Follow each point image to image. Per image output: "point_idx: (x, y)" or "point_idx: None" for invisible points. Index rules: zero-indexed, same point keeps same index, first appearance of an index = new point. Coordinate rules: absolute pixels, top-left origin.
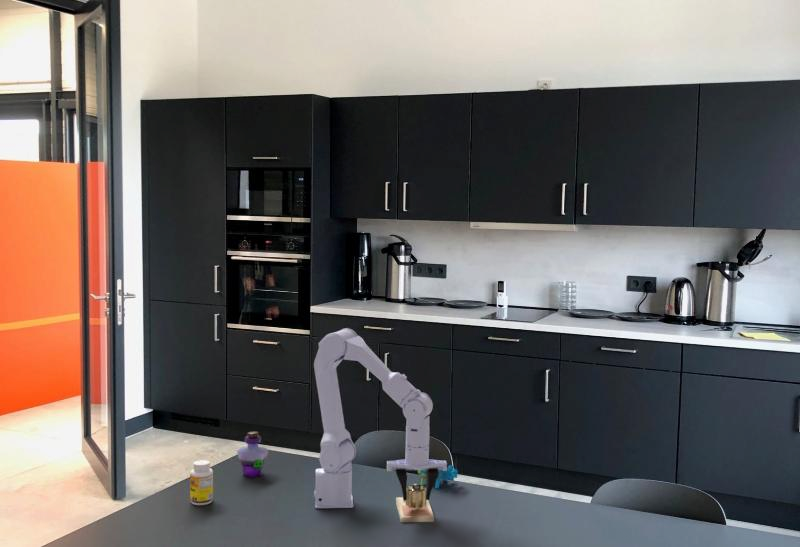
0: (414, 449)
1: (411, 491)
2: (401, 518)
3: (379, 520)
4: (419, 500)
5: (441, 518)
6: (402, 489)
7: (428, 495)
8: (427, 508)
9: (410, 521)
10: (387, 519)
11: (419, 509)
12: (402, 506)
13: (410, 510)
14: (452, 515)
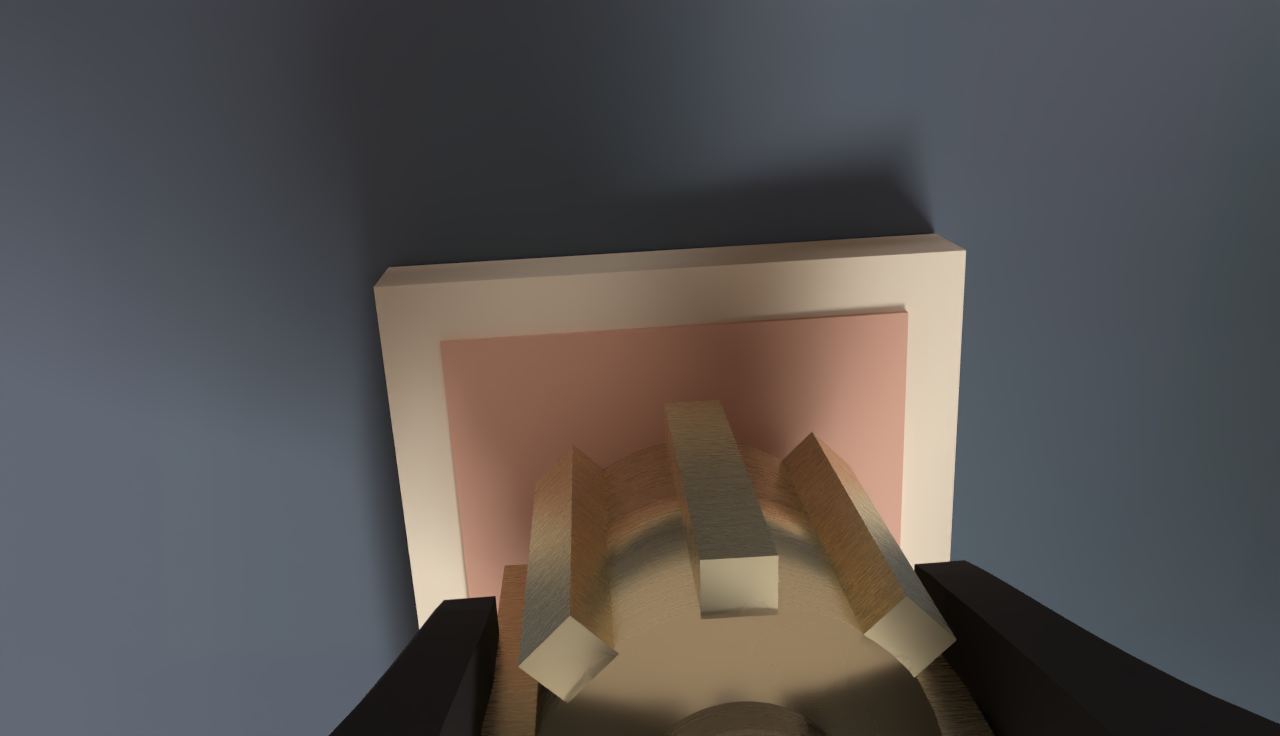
0: None
1: (886, 638)
2: (951, 245)
3: (1253, 302)
4: (654, 513)
5: (262, 403)
6: (1143, 664)
7: (443, 637)
8: None
9: (783, 244)
10: (1125, 343)
11: None
12: None
13: None
14: (83, 523)
